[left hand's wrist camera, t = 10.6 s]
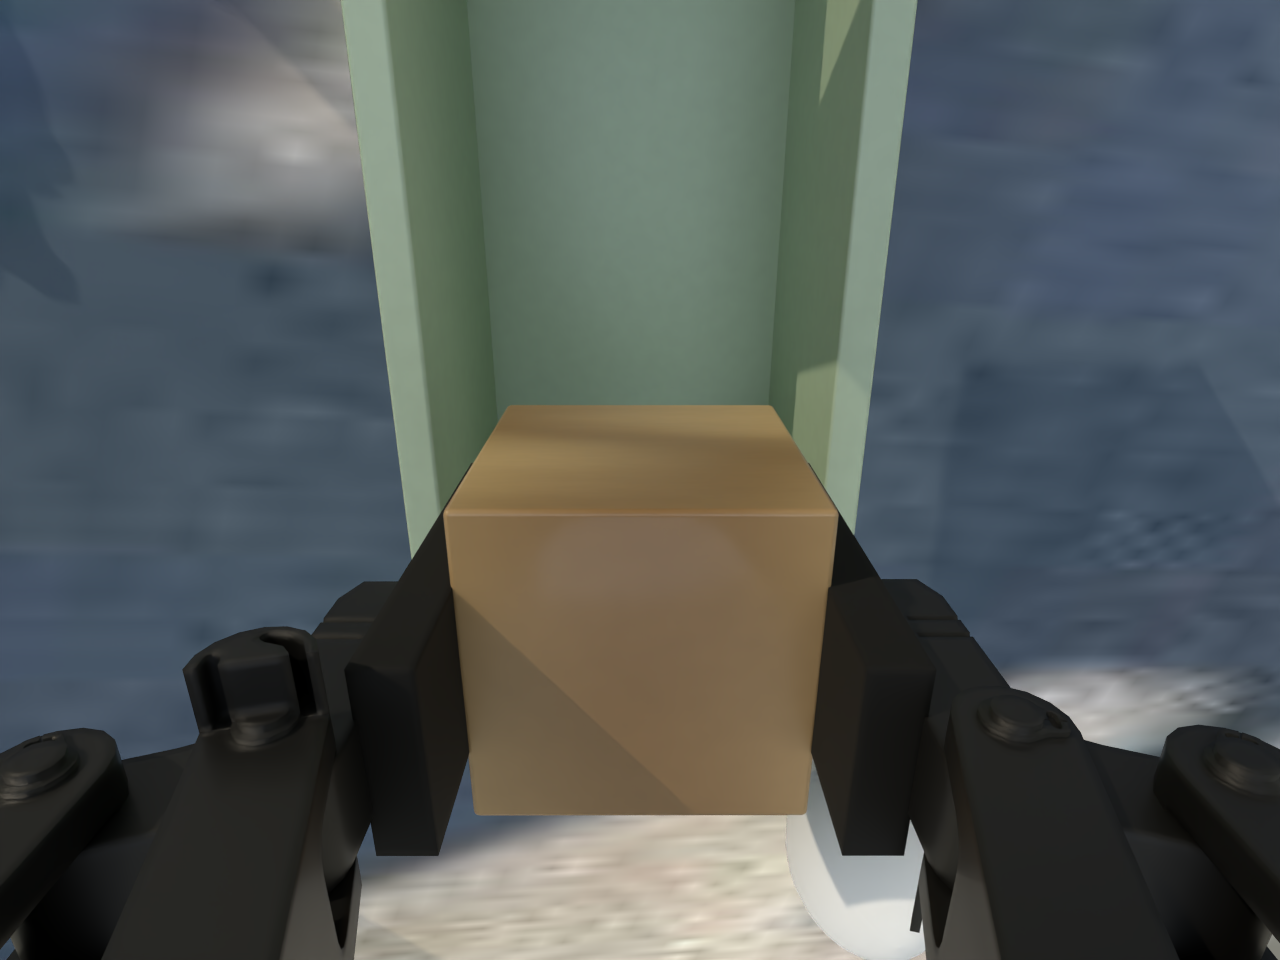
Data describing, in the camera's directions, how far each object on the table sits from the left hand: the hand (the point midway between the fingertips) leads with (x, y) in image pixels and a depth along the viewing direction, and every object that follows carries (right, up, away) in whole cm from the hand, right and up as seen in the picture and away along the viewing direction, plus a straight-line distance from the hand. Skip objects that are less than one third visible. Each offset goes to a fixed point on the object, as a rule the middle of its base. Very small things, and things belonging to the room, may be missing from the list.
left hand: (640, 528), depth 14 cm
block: (0, 0, 0) cm, 0 cm away
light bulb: (+10, -13, +24) cm, 29 cm away
